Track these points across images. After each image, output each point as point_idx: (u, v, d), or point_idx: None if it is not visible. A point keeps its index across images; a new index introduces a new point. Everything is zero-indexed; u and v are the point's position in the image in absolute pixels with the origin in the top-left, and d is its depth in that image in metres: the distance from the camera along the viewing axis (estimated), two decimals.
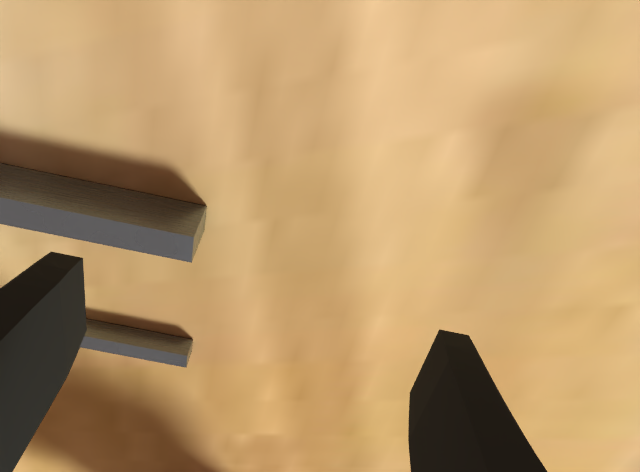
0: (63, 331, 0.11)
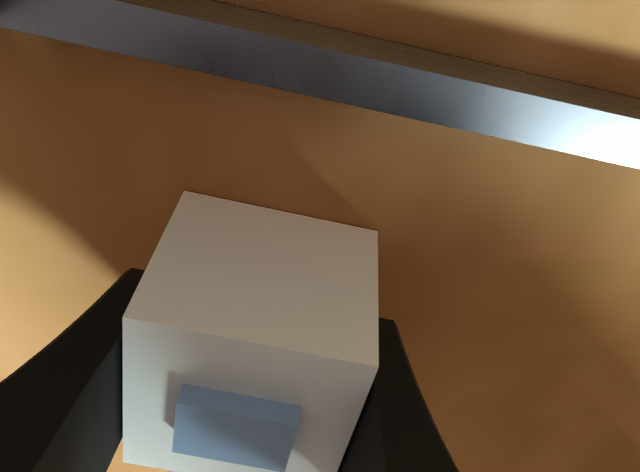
0: None
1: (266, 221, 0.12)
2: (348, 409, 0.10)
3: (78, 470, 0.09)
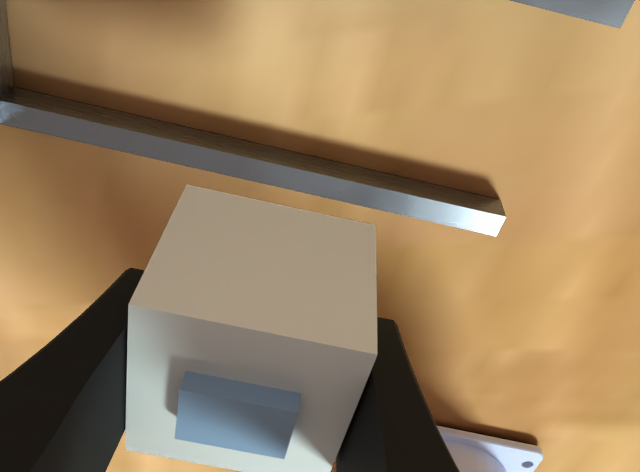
0: None
1: (267, 214, 0.12)
2: (347, 396, 0.10)
3: (77, 470, 0.09)
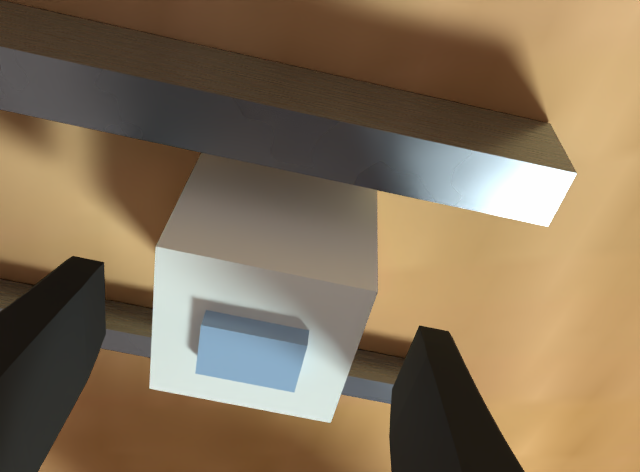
0: (85, 335, 0.11)
1: (277, 174, 0.13)
2: (350, 333, 0.11)
3: (3, 456, 0.09)
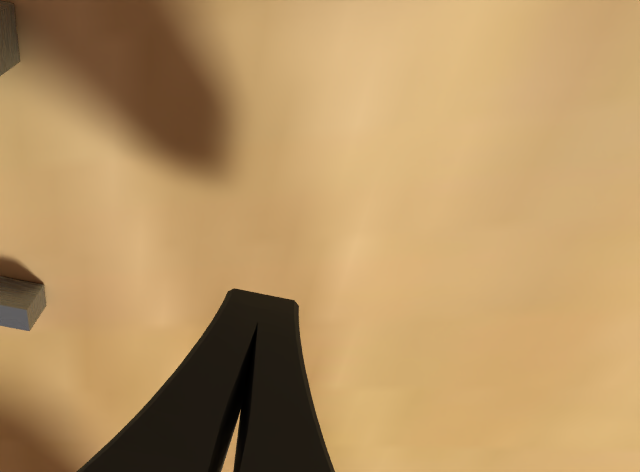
0: None
1: None
2: None
3: None
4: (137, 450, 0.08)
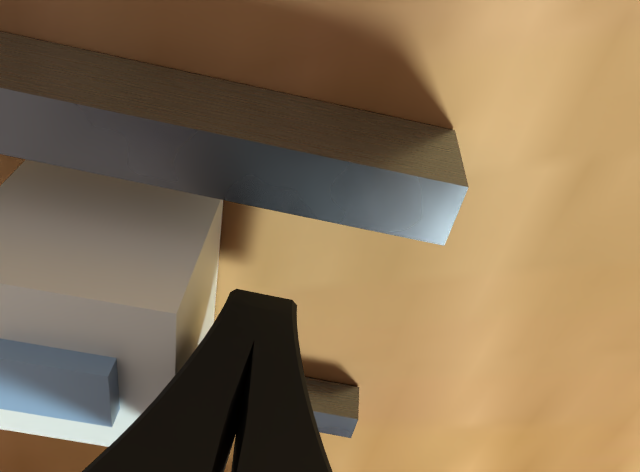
0: None
1: (106, 182, 0.12)
2: (162, 359, 0.10)
3: None
4: (141, 451, 0.08)
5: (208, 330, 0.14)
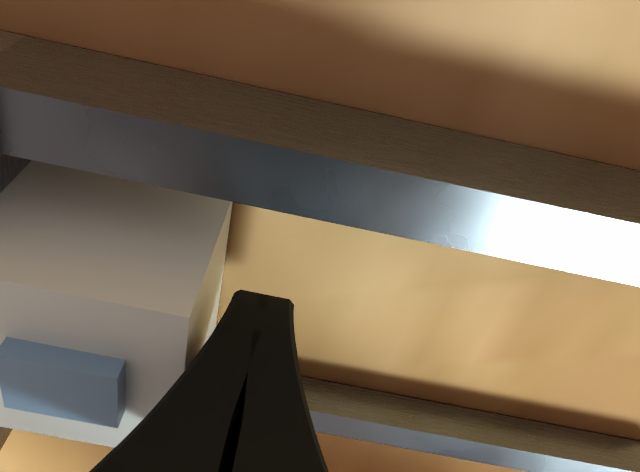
0: None
1: (116, 182, 0.12)
2: (171, 363, 0.10)
3: None
4: (147, 451, 0.08)
5: (211, 332, 0.14)
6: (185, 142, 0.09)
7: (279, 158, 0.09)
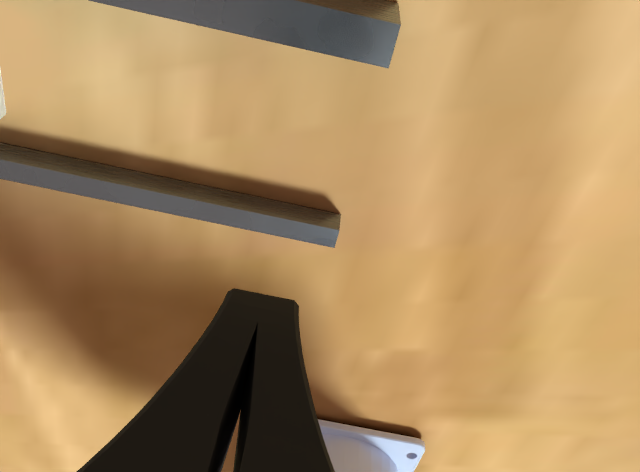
0: None
1: None
2: None
3: None
4: (137, 450, 0.08)
5: None
6: None
7: None
